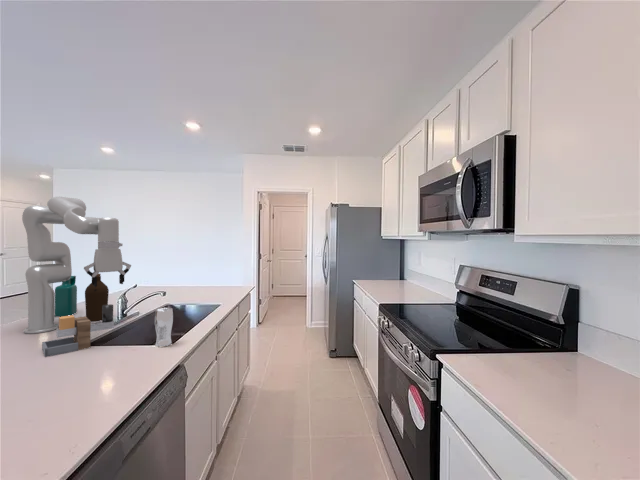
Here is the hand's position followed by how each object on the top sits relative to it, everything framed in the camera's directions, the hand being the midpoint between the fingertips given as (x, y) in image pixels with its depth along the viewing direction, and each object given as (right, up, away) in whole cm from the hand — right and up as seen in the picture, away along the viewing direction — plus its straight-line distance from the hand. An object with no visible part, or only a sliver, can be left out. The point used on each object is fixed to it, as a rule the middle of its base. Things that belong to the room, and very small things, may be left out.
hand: (108, 285), depth 135 cm
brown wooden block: (-7, -24, -6) cm, 26 cm away
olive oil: (-30, -24, +34) cm, 52 cm away
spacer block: (-10, -16, -10) cm, 21 cm away
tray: (-12, -24, -11) cm, 29 cm away
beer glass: (+26, -25, -4) cm, 36 cm away
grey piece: (-6, -19, -5) cm, 20 cm away
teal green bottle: (-54, -24, +44) cm, 74 cm away
